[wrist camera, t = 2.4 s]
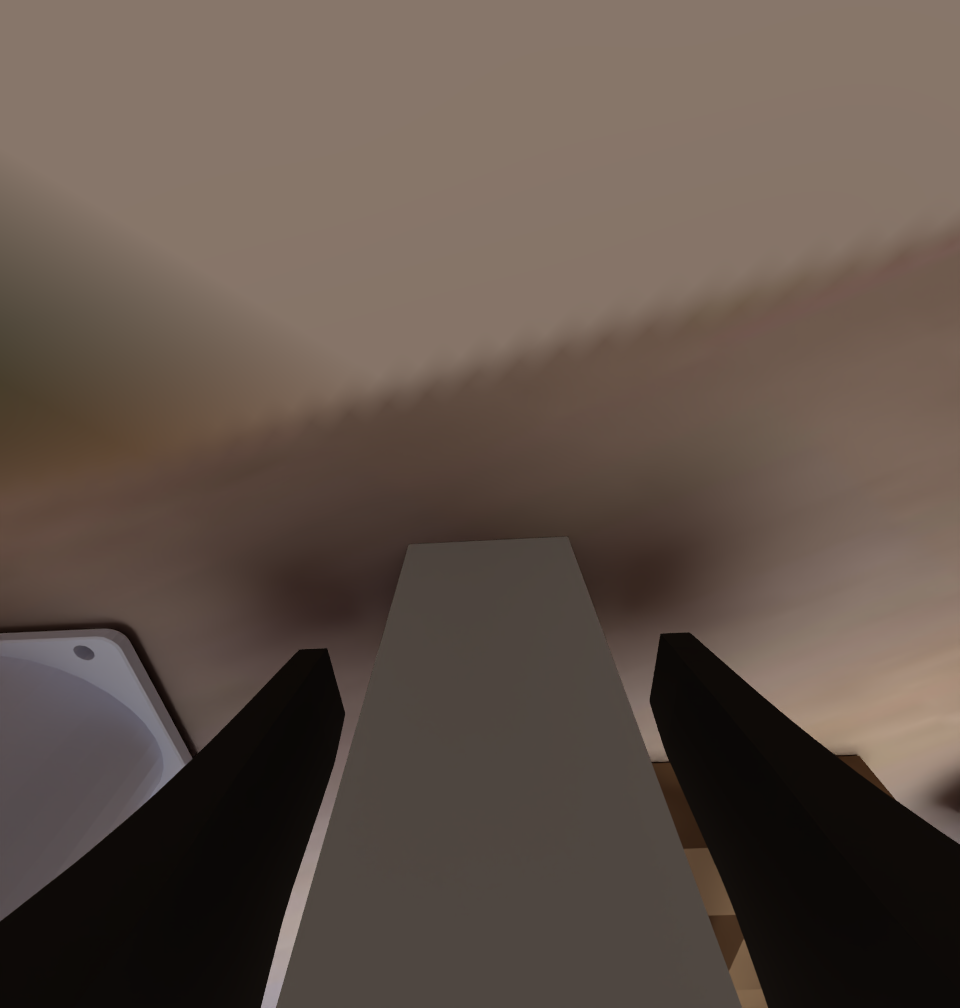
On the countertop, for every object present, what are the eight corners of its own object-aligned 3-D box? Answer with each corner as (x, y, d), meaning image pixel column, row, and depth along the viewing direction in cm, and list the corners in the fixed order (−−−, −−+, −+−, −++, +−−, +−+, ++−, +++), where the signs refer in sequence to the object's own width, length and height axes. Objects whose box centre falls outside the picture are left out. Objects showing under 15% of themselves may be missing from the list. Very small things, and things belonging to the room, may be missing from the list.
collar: (469, 954, 21) (468, 1034, 18) (442, 771, 15) (435, 857, 12) (763, 946, 20) (798, 1026, 18) (858, 755, 14) (929, 840, 12)
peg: (426, 661, 13) (355, 1151, 5) (409, 544, 11) (268, 1033, 4) (563, 655, 12) (677, 1146, 5) (567, 536, 11) (748, 1024, 4)
